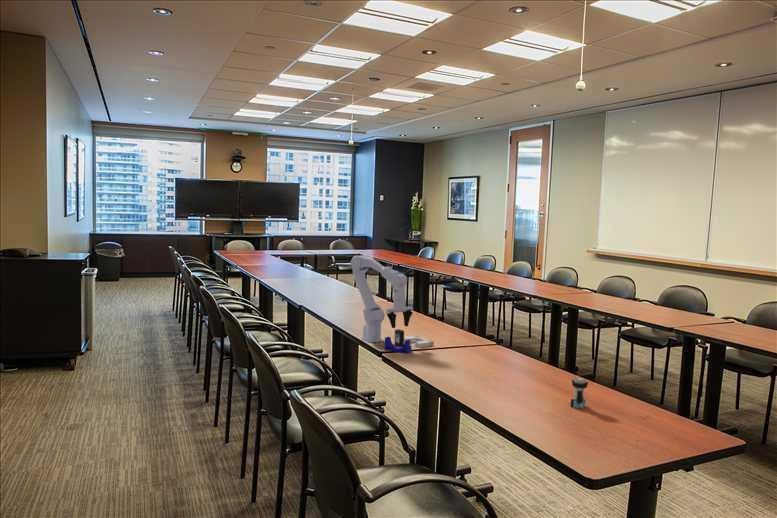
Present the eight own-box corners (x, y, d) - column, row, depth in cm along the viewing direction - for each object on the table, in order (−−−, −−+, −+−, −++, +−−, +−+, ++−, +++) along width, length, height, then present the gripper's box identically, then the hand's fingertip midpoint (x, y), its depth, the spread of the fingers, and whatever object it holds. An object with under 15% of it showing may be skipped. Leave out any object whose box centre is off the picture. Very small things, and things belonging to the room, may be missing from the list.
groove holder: (402, 341, 279) (402, 337, 279) (416, 339, 284) (416, 335, 284) (418, 347, 267) (419, 343, 267) (433, 345, 272) (433, 341, 272)
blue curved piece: (411, 352, 260) (411, 339, 259) (407, 354, 256) (407, 341, 255) (388, 348, 265) (389, 335, 265) (384, 350, 261) (384, 337, 261)
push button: (581, 403, 197) (583, 376, 196) (592, 408, 192) (594, 380, 191) (566, 405, 195) (568, 377, 194) (577, 410, 190) (579, 382, 189)
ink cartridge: (394, 345, 270) (394, 329, 270) (398, 344, 272) (398, 328, 271) (399, 347, 266) (400, 331, 266) (403, 347, 268) (404, 330, 267)
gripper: (391, 301, 260) (392, 329, 260) (416, 298, 268) (416, 326, 269) (383, 299, 266) (384, 327, 266) (407, 297, 274) (408, 324, 274)
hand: (399, 326), depth 268 cm, fingers open, 7 cm apart
